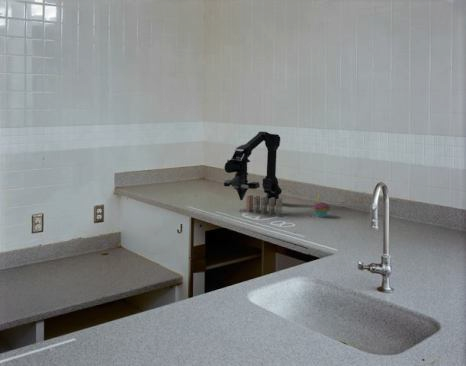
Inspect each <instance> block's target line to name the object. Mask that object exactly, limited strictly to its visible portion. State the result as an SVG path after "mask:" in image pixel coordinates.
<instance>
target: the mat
mask: <svg viewBox="0 0 466 366" xmlns="http://www.w3.org/2000/svg"><path fill="white" fill-rule="evenodd" d="M239 213H245V214H246V213H247V214H256V215H265V216H273V217H282V218H284V217H286V216H288V215H290V213H288V212H282V214H280V215H276V211H275V213H273V214H268V210H267V212H266V213H264V214H262V213H261V209H260V211H259V212H257V213H253V210H252V211H250V212H246V208H245V209H242V210H240V211H239Z"/></svg>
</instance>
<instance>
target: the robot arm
mask: <svg viewBox="0 0 466 366" xmlns="http://www.w3.org/2000/svg"><path fill="white" fill-rule="evenodd" d="M263 142H264V145H265V148H266V149H267V157H266V158H267V159H266V176H265V178H263V179H262V189H263V191H264V193H265V194H266V195H265V197H268V206H269V199H270V198H272V197H273V198H275V206H276V200H277V199H279V198H280V197H279V196H280V195H281V194H282V188H281V187H280V185H279V181H278V178H277V175H276V174H277V173H276V171H277V151H278V149H279V147H280V145H281V137H280V135H279V134H277V133H270V132H267V131H259V132H258V133H257V134H256V135H255V136H253V137H252V138H251V139H250V140H249V141H248V142H247V143H245V144H241V145H239V146H238V147H236V148H235V149H234V152H233V154H232V156H231V158H230V159H227V161H226V162H225V164H224V167H223V168H224V171H225V172H226V173H227V174H231V173H234V177H233V178H232V179H227V180H224V182H223V186H224V187H230V186H231V187H233V189H234V190H236V192H237V194H238V198H239V200H240V201H243V199H244V198H245V196H246V193H247V191H248V190H249V189H251V190H252V189H253V190H256V189H260V185H261V184H260V182H258V181H251V182H249V180H248V176H249V172H248V163H251V160H250V159H249V157H250V156H251V155H252V154H253V153H252V152H253V151H254V149H256V148H257V147H258V146H260V144H262V143H263Z"/></svg>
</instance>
